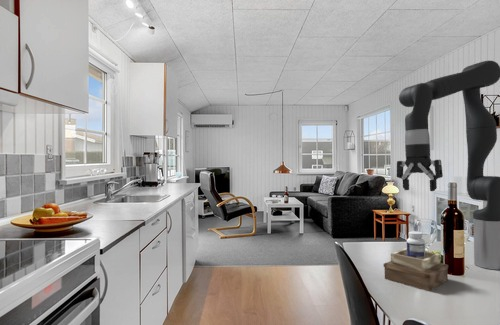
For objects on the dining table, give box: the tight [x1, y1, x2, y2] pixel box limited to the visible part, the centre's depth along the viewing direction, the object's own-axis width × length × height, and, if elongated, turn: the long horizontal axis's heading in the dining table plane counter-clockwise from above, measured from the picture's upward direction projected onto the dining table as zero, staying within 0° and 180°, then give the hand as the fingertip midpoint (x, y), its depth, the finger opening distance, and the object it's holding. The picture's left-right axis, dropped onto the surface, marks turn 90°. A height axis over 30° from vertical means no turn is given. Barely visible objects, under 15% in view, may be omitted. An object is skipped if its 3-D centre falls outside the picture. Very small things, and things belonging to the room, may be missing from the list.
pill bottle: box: [406, 230, 426, 259], centre depth 106 cm, size 5×5×10 cm
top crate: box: [390, 247, 441, 272], centre depth 106 cm, size 11×11×4 cm
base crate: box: [383, 260, 449, 292], centre depth 106 cm, size 14×14×5 cm
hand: (419, 190), depth 110 cm, fingers open, 8 cm apart
